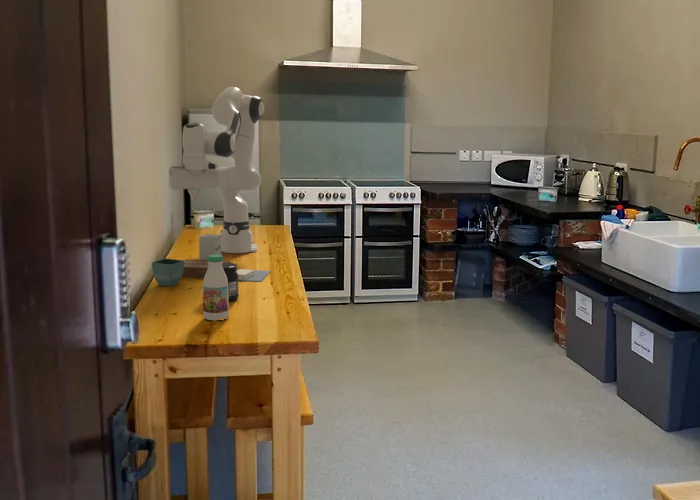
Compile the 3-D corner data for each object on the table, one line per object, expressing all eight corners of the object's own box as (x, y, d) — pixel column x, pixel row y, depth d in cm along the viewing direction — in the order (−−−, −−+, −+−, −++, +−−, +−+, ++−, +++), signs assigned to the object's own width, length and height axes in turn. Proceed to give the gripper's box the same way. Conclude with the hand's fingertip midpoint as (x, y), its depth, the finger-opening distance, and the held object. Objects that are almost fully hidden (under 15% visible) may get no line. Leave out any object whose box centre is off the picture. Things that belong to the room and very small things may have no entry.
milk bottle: (205, 315, 217) (203, 253, 213) (229, 315, 217) (229, 253, 214) (202, 322, 209) (200, 258, 205) (227, 322, 210) (226, 258, 206)
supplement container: (211, 294, 241) (211, 261, 239) (241, 295, 241) (241, 262, 239) (204, 302, 231) (203, 268, 229) (235, 303, 231) (235, 268, 229)
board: (186, 269, 280) (186, 259, 280) (230, 270, 279) (229, 261, 278) (175, 276, 267) (175, 266, 266) (220, 278, 265) (220, 268, 264)
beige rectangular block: (254, 270, 271) (254, 275, 271) (240, 268, 273) (240, 273, 273) (244, 274, 262) (244, 280, 263) (230, 273, 264) (230, 278, 264)
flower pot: (185, 283, 257) (185, 260, 255) (172, 288, 248) (171, 264, 247) (165, 281, 259) (164, 258, 258) (151, 286, 251) (150, 262, 249)
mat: (234, 270, 281) (234, 269, 281) (270, 271, 280) (270, 270, 279) (223, 280, 263) (223, 279, 263) (261, 281, 262) (261, 281, 262)
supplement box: (215, 267, 285) (215, 237, 283) (198, 266, 287) (198, 236, 284) (222, 263, 292) (221, 234, 290) (205, 262, 294) (205, 233, 292)
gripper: (171, 165, 261) (172, 202, 263) (221, 164, 272) (221, 199, 275) (165, 164, 266) (166, 200, 268) (214, 163, 277) (215, 197, 280)
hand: (195, 199), depth 272 cm, fingers closed
